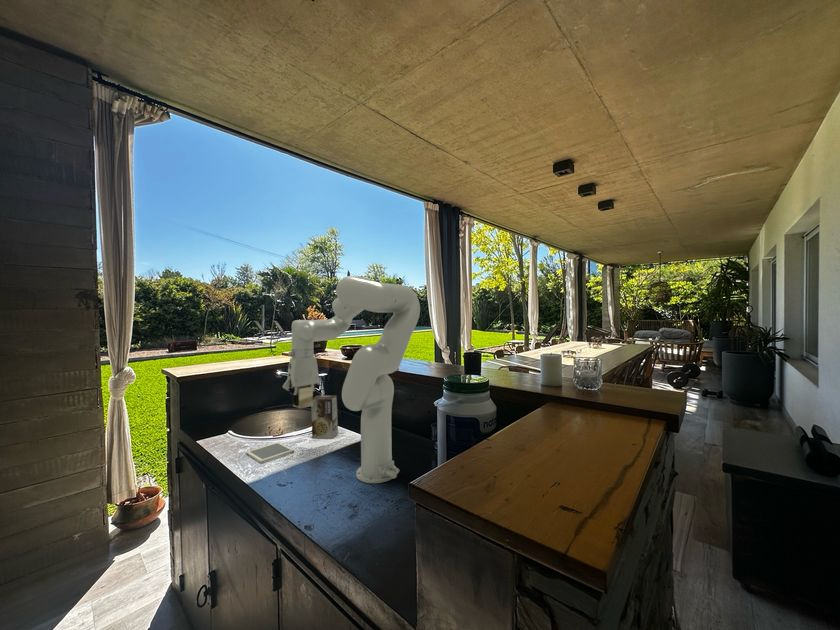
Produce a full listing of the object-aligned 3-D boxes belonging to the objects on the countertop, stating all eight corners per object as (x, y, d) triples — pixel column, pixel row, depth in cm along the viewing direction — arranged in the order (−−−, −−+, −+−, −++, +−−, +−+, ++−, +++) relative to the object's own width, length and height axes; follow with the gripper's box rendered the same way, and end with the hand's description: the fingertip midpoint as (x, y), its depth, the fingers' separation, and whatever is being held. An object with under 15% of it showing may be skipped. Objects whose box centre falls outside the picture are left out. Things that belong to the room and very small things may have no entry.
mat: (294, 452, 125) (294, 449, 125) (261, 463, 116) (260, 460, 116) (278, 444, 133) (278, 441, 133) (246, 454, 123) (246, 451, 123)
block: (312, 405, 125) (312, 386, 125) (299, 408, 121) (299, 388, 121) (305, 403, 128) (305, 384, 128) (293, 405, 124) (293, 386, 124)
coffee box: (338, 433, 144) (337, 395, 144) (333, 438, 138) (332, 399, 138) (317, 432, 145) (317, 394, 145) (311, 438, 139) (310, 398, 139)
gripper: (285, 357, 115) (285, 410, 116) (328, 352, 128) (328, 401, 128) (274, 355, 121) (275, 406, 121) (318, 350, 133) (318, 397, 133)
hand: (302, 403), depth 125 cm, fingers closed on block, 5 cm apart
